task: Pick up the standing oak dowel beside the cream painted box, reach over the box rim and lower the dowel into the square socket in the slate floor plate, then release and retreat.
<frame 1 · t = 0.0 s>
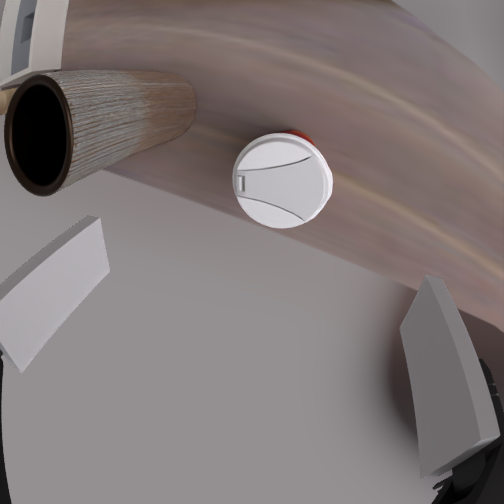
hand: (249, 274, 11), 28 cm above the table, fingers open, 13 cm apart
coffee cup: (293, 152, 35), on the table
box: (43, 25, 28), on the table
planter: (165, 106, 35), on the table
dowel: (50, 92, 35), on the table
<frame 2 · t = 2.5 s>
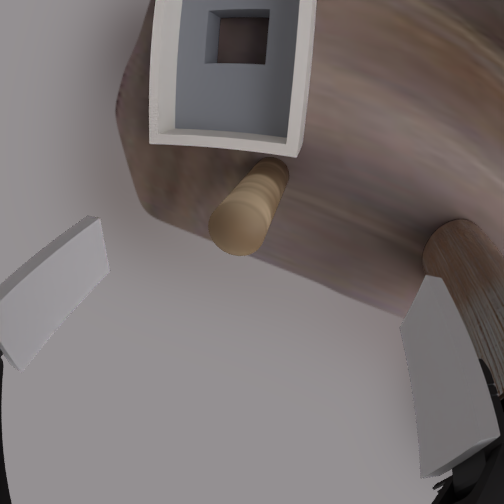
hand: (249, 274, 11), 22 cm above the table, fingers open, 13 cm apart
box: (245, 41, 24), on the table
planter: (454, 252, 30), on the table
dowel: (271, 174, 31), on the table
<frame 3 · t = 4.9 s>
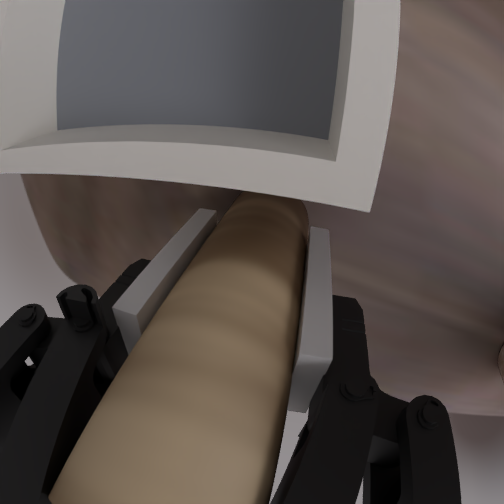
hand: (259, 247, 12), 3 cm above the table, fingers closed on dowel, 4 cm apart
dowel: (268, 221, 15), on the table, touching gripper
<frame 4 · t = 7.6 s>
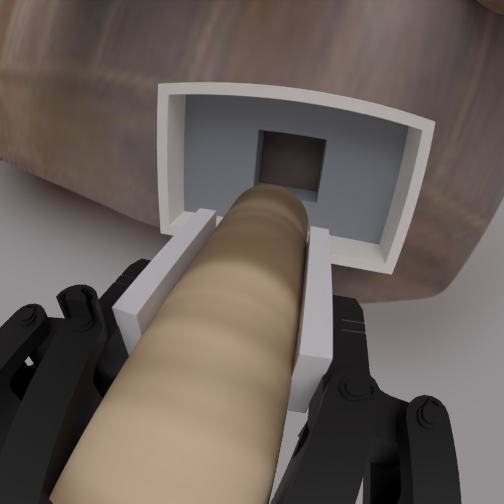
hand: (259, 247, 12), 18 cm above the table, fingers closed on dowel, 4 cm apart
box: (291, 158, 28), on the table
dowel: (268, 222, 15), point 16 cm above the table, touching gripper
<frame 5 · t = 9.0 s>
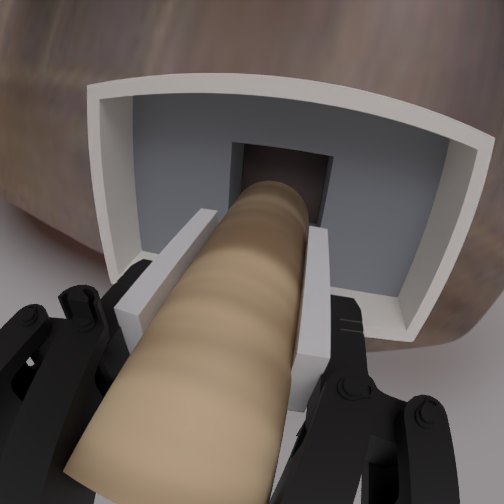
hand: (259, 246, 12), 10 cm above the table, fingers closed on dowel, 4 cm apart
box: (282, 179, 20), on the table
dowel: (270, 217, 15), point 6 cm above the table, touching gripper
when the fingers open (5 cm above the table, at t = 10.2 s): dowel stays where it is, resting in box.
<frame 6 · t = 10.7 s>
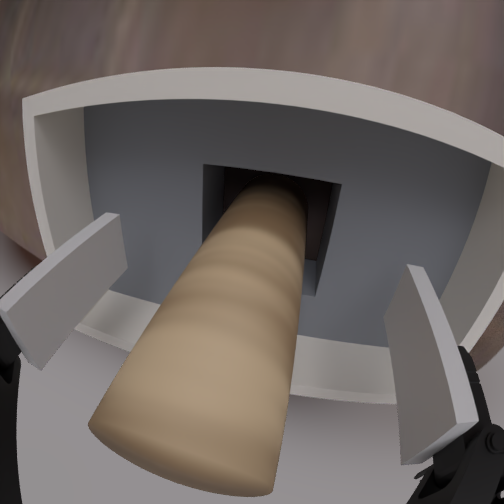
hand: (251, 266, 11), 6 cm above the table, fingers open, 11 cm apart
box: (274, 207, 16), on the table
dowel: (272, 207, 16), resting in box
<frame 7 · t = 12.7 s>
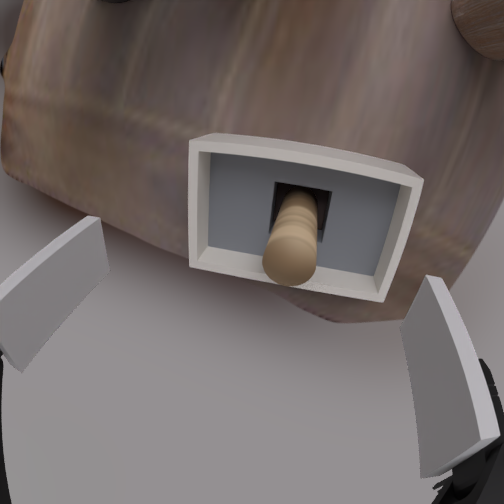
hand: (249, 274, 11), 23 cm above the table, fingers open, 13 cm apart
box: (301, 202, 33), on the table
planter: (482, 24, 16), on the table
dowel: (300, 202, 33), resting in box
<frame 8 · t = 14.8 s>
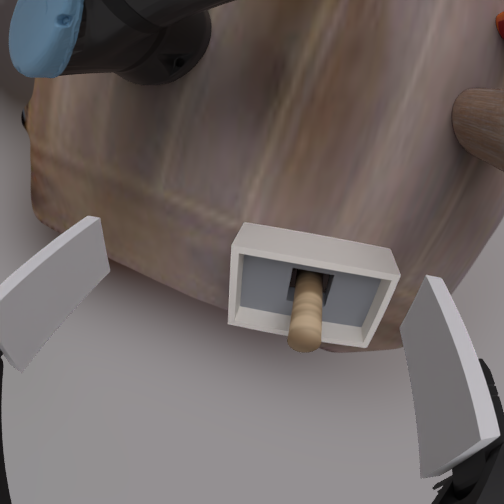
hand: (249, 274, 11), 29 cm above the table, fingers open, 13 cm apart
box: (310, 274, 44), on the table
planter: (478, 122, 26), on the table
dowel: (309, 274, 44), resting in box
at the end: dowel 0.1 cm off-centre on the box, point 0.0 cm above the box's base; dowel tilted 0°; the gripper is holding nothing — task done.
